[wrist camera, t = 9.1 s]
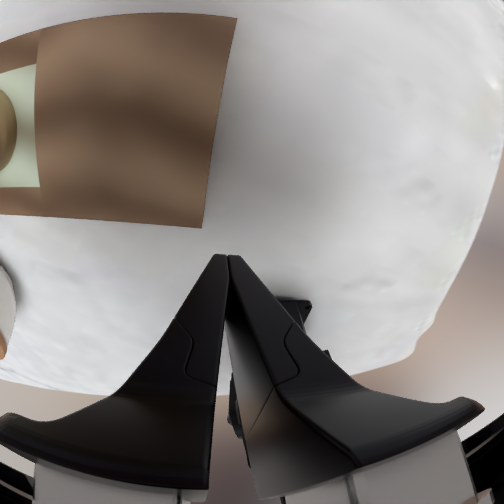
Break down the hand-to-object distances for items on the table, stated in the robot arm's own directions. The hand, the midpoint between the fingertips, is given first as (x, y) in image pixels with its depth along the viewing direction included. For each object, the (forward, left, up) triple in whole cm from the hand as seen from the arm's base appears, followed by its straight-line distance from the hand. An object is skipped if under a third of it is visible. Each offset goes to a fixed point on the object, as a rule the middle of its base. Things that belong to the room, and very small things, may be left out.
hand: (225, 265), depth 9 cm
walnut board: (+2, +12, -11) cm, 16 cm away
